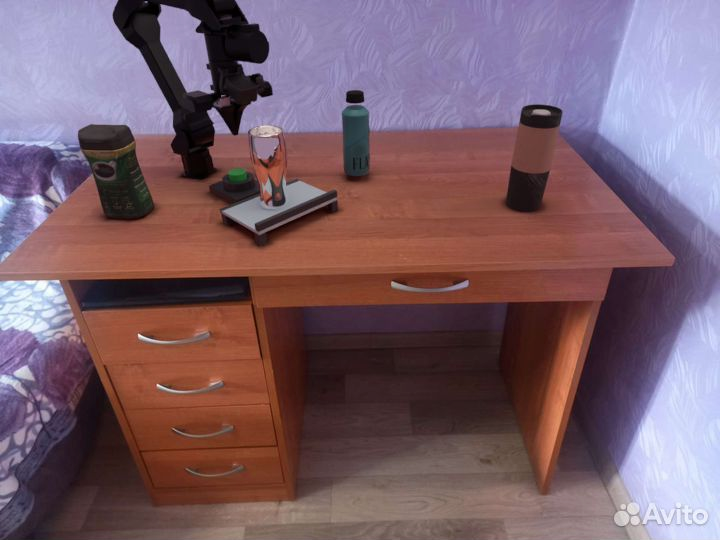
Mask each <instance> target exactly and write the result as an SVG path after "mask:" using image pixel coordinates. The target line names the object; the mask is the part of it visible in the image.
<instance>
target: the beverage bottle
mask: <svg viewBox="0 0 720 540" xmlns="http://www.w3.org/2000/svg"><path fill="white" fill-rule="evenodd" d="M345 102H346V103H347V104H350V105H347V106H345V108H343V110H342V111H341V123H342V124H341V125H342V156H343V159H342V160H343V172H344V173H345V175H348V176H351V177H361V176H365V175H368V174H369V173H370V168H371V154H370V150H371V148H370V142H371V141H370V122H371V121H370V110H369V109H367V107H366V106H365V105H361V104H362V103H364V102H365V93H364V91H363V90H360V89H351V90H348V91H346V93H345Z"/></svg>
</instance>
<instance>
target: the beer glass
mask: <svg viewBox="0 0 720 540" xmlns="http://www.w3.org/2000/svg"><path fill="white" fill-rule="evenodd" d="M284 132H285V131H284V128H283V127H282V126H279V125H274V124H273V125H272V124H271V125H270V124H268V125H267V124H266V125H259V126H255V127H251V128H250V129H248V131H247V135H248V149H249V156H250V161H251V165H252V168H253V172H254V175H255V178H256V180H257V181H258V184H259V188H260V206H261V207H262V208H264V209H267V210H278V209H282V208H285V207H286V206H288V205H289V203H290V199H289V196H288V193H287V188H286V183H287V171H288V150H287V143H286V137H285V133H284Z"/></svg>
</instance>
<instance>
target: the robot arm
mask: <svg viewBox="0 0 720 540" xmlns="http://www.w3.org/2000/svg"><path fill="white" fill-rule="evenodd" d="M162 6H166V7H170V8H175V9H179V10H184V11H186V12H188V14H189V15H190V16H191V17H192V18H194V19H196V20H198V21H200V22H199V24H198V25H197V26H196V28H195V29H194V30H195V33H196V34H203V37H204V43H205V48H206V55H207V60H208V63H205V66H206V70H208V71H209V72H210V77H211V82H212V84H209V87H210V88H209V89H210V91H213V92H209V93H208V92H204V91H202V90H199V89H198V90H194V91H188V92H187V89H186V88H185V85H184V84H183V81H182V80H181V78H180V76H179V74H178V72H177V70H176V68H175V67H174V64H173V63H172V61H171V59H170V57H169V55H168V53H167V51H166V49H165V47H164V46H163V43H162V41H161V31H162V30H161V28H162V27H161V24H160V22H159V17H160V15H161V13H162ZM112 20H113V23H114V25H115V26H116V28H117V29H118V31H119V32H120V34H121V35H122V37H123V38H124V39H125V41H127V42H128V43H129V44H131V45H132V46H133V47H134V48H136V49H137V50H138V51H139V53H140V54H141V56H142V58H143V60H144V62H145V63H146V65H147V67H148V70H149V71H150V72H151V75H152V76H153V78H154V80H155V82H156V84H157V86H158V87H159V90H160V91H161V93H162V95H163V97H164V99H165V100H166V102H167V104H168V106H169V108H170V110H171V112H172V129H173V131H174V134H175V135H174V137H173V139H172V141H171V143H170V147H171V150H172V153H174V154H176V155H179V156H180V157H181V162H182V166H183V171H184V172H183V173H181V174H180V177H182V178H188V179H195V180H205V179H206V178H207V177H209V176H211V175H212V174H214V173H215V172H217V171H218V168H217V167H215V166H214V161H213V156H212V155H211V153H210V148H211V147H214V146H215V134H216V129H215V126H214V125H215V123H214V122H213V120H212V119H211V117H210V115H209V112H208V111H212V109H215V110H216V112H217V113H218V114H219V116H220V117H221V119H222V120H223V122H224V123H225V125H226V126H227V129H228V130H229V131H230V133H231V135H233V136H235V137H236V136H238V135H239V133H240V127H241V121H242V117H243V114H244V112H245V111H244V110H245V109H246V108H247V107H249V105H252V103H255V102H257V101H258V96H259V97H260V98H268V97H271V96H274V91H273V85H272V84H271V82H270V81H268V80H264V76H263V74H261V73H260V72H257V73H252V74H249V75H247V74H245V71H244V66H243V64H242V62H243V63H250V64H258V65H261V64H264V63H265V62H266V61H267V60H268V57H269V54H270V42H269V41H268V38H267V36H266V35H265V33H264V32H263V31H262V30H261V29H260V24H259V23H256V22H255V23H253V22H252V23H249V22H250V21H248V19H247V18H246V15H245V14H244V12H243V10H242V9H241V8H240V5H239V4H238V2H237V1H236V0H117V2H116V4H115V6H114V8H113V11H112ZM239 62H241V63H239Z"/></svg>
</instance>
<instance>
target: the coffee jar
mask: <svg viewBox="0 0 720 540" xmlns="http://www.w3.org/2000/svg"><path fill="white" fill-rule="evenodd" d="M77 140H78V144H79V149H80V151H81V153H82V154H83V156H84V158H86V160H87V162H88V164H89V167H90V170H91V172H92V175H93V180H94V183H95V185H96V189H97V192H98V197H99V201H100V205H101V208H102V211H103V214H104V215H105V216H106V217H108V218H111V219H122V220H123V219H124V220H125V219H126V220H128V219H129V220H131V219H138V218H140V217H143V216H145V215H148V214H149V213H150V212H151V211H152V210H153V209H154V206H155V202H154V199H153V196H152V194H151V191H150V189H149V187H148V183H147V182H146V179H145V176H144V173H143V171H142V168H141V166H140V163H139V161H138V157H137V156H138V155H137V150H136V148H137V141H136V139H135V136H134V134H133V132H132V129H131V128H130V127H129V125H127V124H93V123H91V124H88V125H86V126H84V127H82V128H80V129H79V130H78V131H77Z"/></svg>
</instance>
